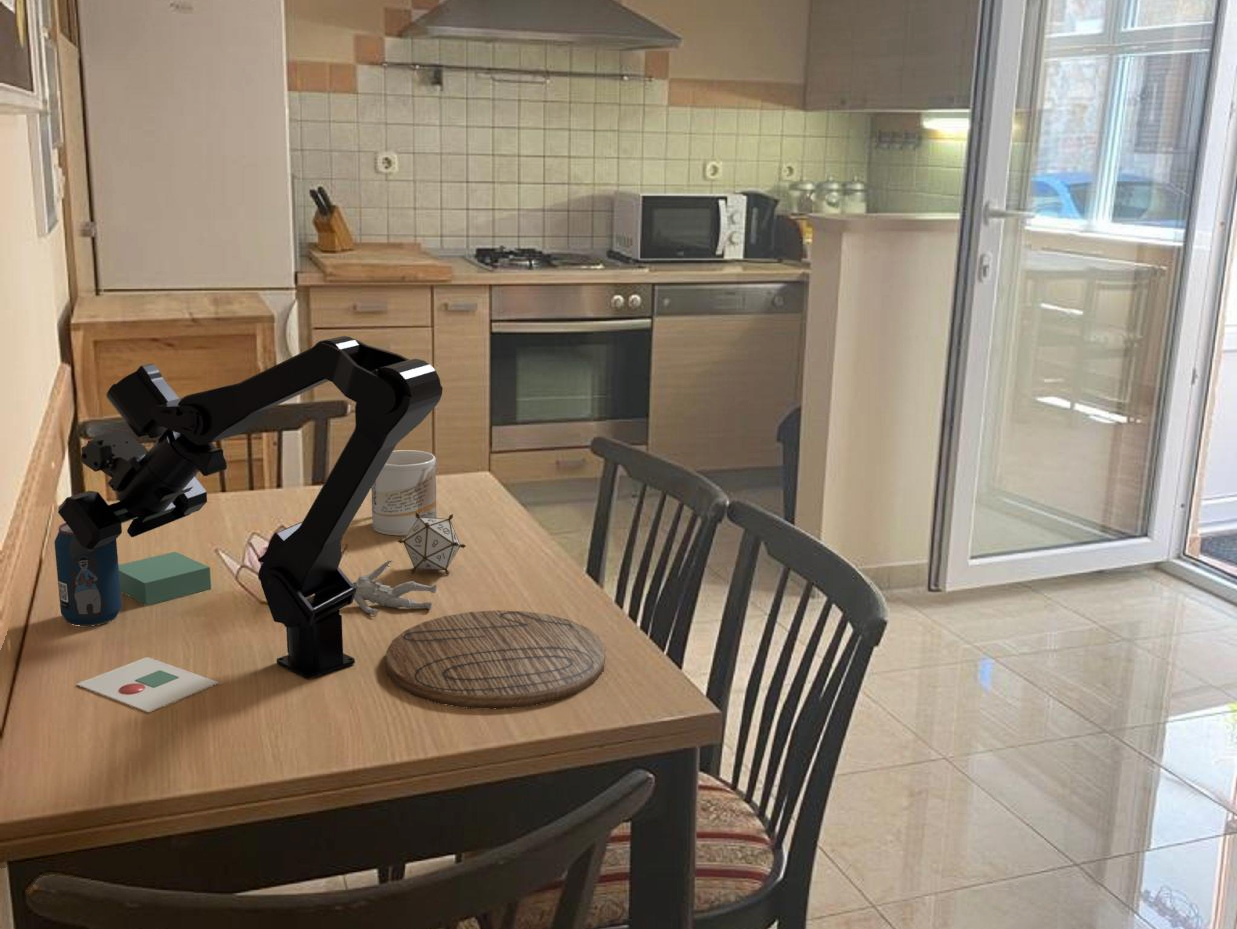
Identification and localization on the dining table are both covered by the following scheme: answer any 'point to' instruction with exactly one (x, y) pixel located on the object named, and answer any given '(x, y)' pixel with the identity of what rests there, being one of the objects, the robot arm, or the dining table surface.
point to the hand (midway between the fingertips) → (101, 544)
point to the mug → (404, 492)
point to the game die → (432, 543)
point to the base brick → (163, 578)
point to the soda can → (87, 582)
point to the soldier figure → (387, 592)
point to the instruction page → (147, 684)
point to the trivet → (495, 659)
